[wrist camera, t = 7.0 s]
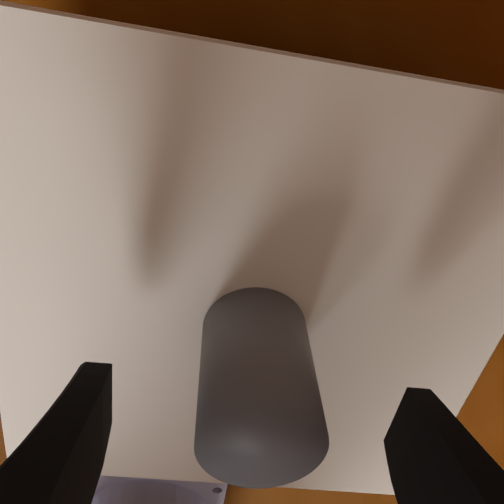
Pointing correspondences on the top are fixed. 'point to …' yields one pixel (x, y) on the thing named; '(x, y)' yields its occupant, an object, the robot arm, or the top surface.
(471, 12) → the top surface
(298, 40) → the top surface
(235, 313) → the lid
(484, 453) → the robot arm
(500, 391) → the top surface
